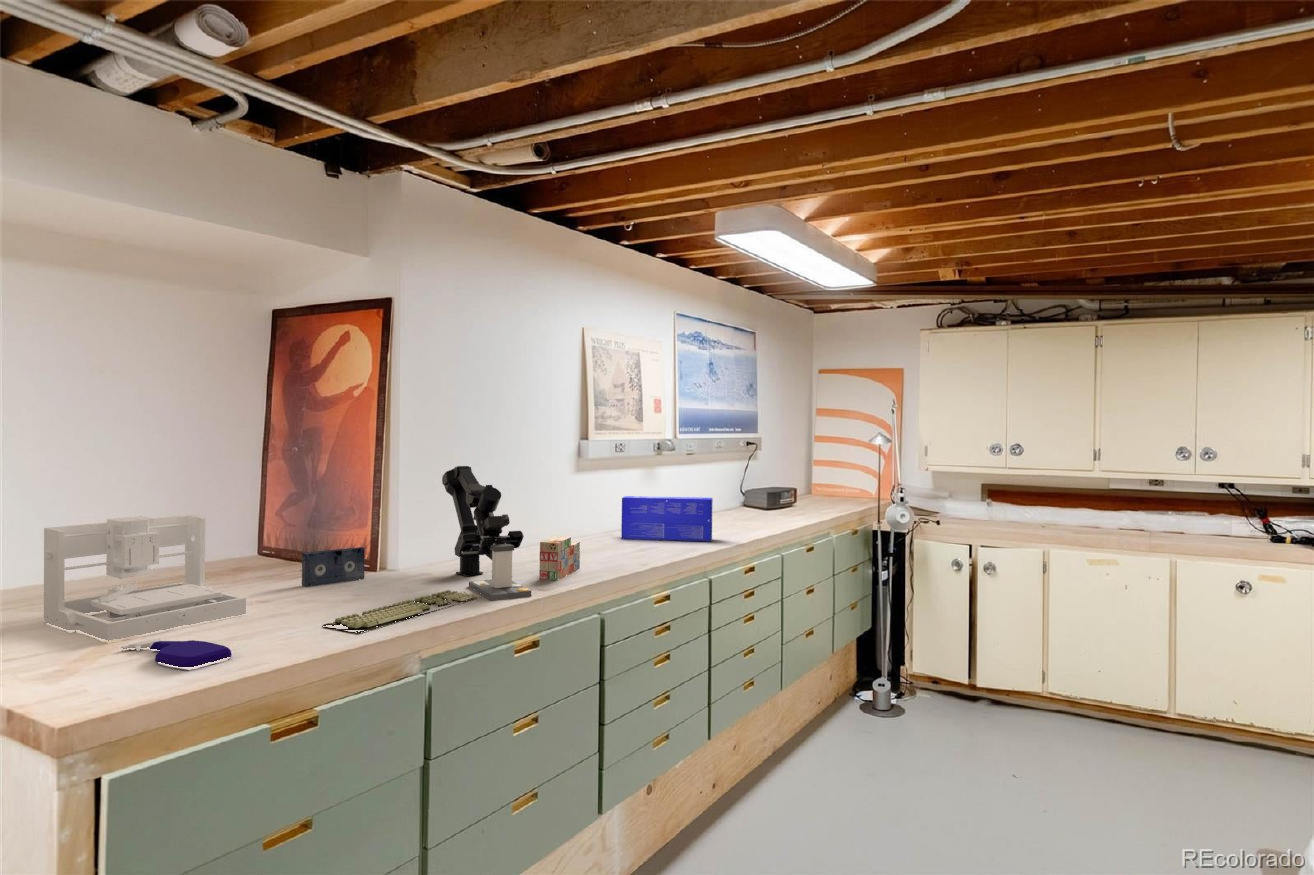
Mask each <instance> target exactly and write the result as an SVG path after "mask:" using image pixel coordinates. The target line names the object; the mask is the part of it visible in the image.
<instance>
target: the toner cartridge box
mask: <svg viewBox="0 0 1314 875" xmlns="http://www.w3.org/2000/svg"><path fill="white" fill-rule="evenodd" d="M713 501H714V499H713V497H701V496H700V497H699V496H698V497H695V496H694V497H693V496H692V497H690V496H642V495H641V496H639V495H638V496H637V495H625V496H623V497H622V498H621V529H620V531H621V532H620V533H621V535H620V536H621V540H633V541H634V540H635V541H663V540H675V541H674V542H682V541H684V542H709V541H711V542H712V541H713ZM676 540H678V541H676Z"/></svg>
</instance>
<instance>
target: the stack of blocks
mask: <svg viewBox="0 0 1314 875" xmlns="http://www.w3.org/2000/svg"><path fill="white" fill-rule="evenodd" d="M580 544H581V542H580V541H572V536H559V535H558V536H557V535H554V536H551V537H548V538H546V539H544V540H541V541H540V542H539V580H542V579H552V580H551V581H556V580H557V581H559V580H561V579H563V578H565V577H567V576H569V575H570V574H573V571H574V572H576V571H577V570H579V569H580V567H581V566H580V565H581V564H580V563H581V562H580V560H581V550H580V546H581V545H580ZM575 570H576V571H575ZM566 575H567V576H566ZM558 579H559V580H558Z"/></svg>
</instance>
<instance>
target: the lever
mask: <svg viewBox="0 0 1314 875" xmlns="http://www.w3.org/2000/svg"><path fill="white" fill-rule="evenodd" d="M491 550H492V560H491V579H492V587H494V588H502V587H512V581H513V551H515V548H514V545H511V544H500V545H491Z"/></svg>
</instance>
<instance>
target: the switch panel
mask: <svg viewBox="0 0 1314 875" xmlns="http://www.w3.org/2000/svg"><path fill="white" fill-rule="evenodd" d="M468 587H469V588H470V589H472V590H473V589H474V590H473V591H475V592H477V593H478V594H480V593H481V594H480V595H481V596H482V597H483V596H484V597H485V598H487V599H488V598H489V599H488V600H489V601H497V600H496V599H499V600H505V599H504V598H508V599H514V598H515V599H516V598H525V597H526V598H527V597H532V590H531V589H530V588H527V587H525V586H523V585H522V584H520V583H517V582H515V581H513V580H512V587H502V588H494V587H492V578H491V579H482V580H472V581H468Z"/></svg>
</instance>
